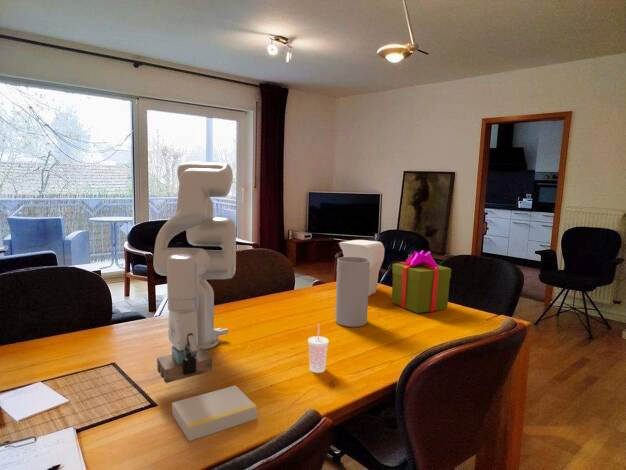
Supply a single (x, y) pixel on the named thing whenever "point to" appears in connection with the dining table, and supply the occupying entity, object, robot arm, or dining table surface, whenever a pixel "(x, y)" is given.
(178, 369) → the pallet
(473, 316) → the dining table surface
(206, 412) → the block
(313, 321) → the dining table surface
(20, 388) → the dining table surface
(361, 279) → the cylinder vase
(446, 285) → the gift box
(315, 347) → the beverage cup
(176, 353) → the teal block
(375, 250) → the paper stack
